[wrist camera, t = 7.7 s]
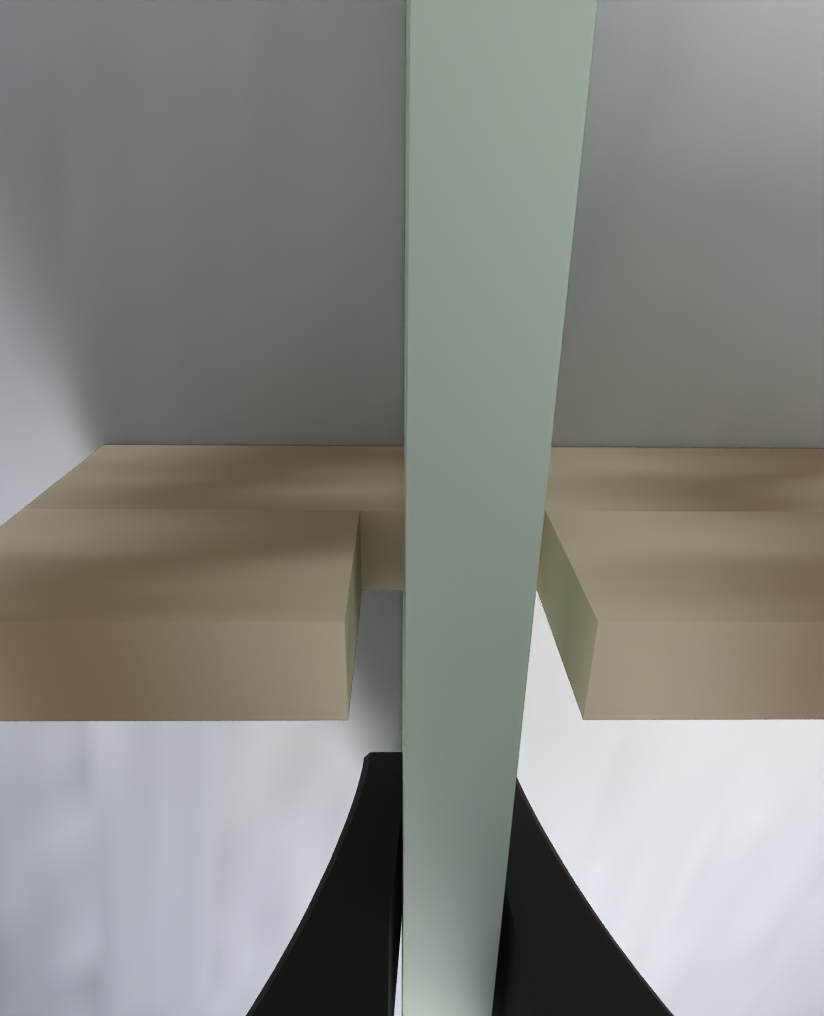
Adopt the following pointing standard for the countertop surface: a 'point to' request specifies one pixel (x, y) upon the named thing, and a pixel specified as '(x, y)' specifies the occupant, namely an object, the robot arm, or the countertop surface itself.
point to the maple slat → (380, 566)
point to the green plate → (477, 446)
